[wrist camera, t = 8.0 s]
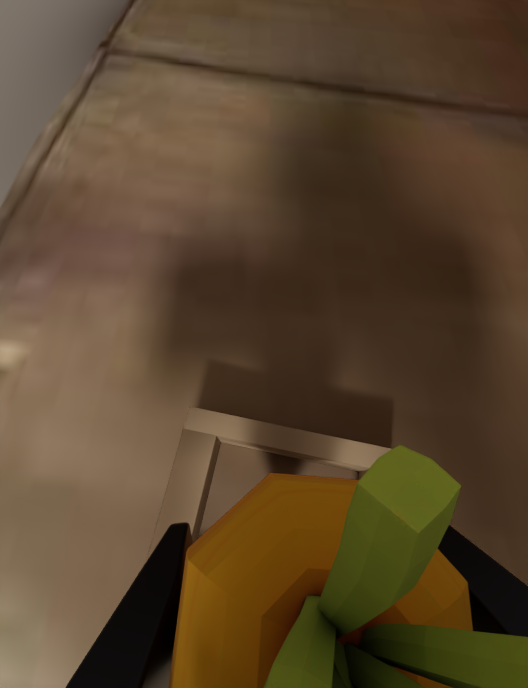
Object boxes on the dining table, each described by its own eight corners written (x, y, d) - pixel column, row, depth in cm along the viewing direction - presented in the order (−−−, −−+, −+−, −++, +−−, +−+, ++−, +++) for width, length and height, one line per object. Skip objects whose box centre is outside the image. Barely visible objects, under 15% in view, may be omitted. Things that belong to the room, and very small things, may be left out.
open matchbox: (390, 457, 19) (410, 452, 16) (348, 1016, 12) (370, 1138, 10) (196, 416, 19) (189, 406, 17) (57, 934, 13) (14, 1033, 10)
